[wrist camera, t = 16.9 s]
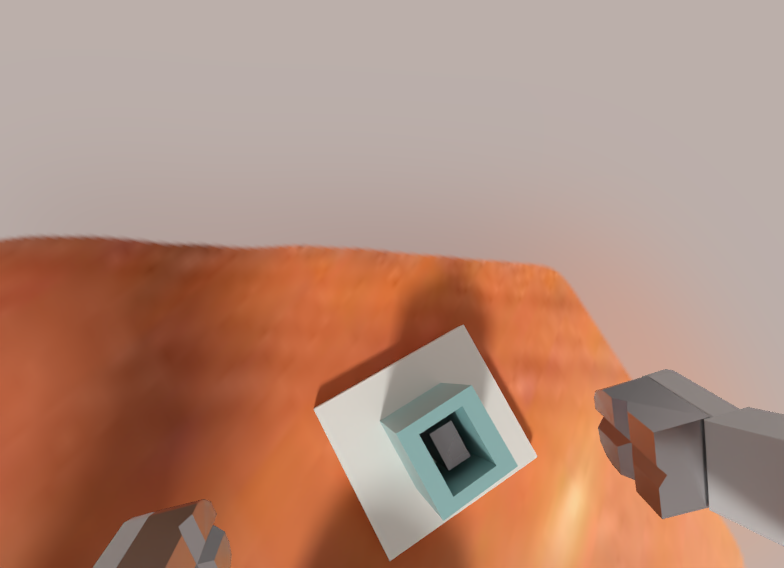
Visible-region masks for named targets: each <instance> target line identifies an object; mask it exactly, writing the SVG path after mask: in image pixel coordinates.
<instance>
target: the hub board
mask: <svg viewBox="0 0 784 568" xmlns="http://www.w3.org/2000/svg"><path fill="white" fill-rule="evenodd" d="M439 383H450V384H464V385H472V387H473V388H474V390H475V392H476V394H477V395H478V397H479V399H480V401H481V402H482V404H483V406H484V408H485V409H486V411H487V413H488V414H489V416H490V418H491V420H492V421H493V423H494V425H495V427H496V428H497V430H498V432H499V434H500V435H501V437H502V439H503V441H504V442H505V444H506V446H507V447H508V449H509V451H510V453H511V454H512V456H513V458H514V460H515V461H516V463H517V465H518V467H516V468H515V469H514V470H512V471H511V472H509V473H508V474H507V475H505V476H504V477H503V478H501V479H500V480H499V481H497V482H496V483H494V484H493V485H492V486H490V487H489V488H488V489H486V490H485V491H484V492H482V493H481V494H480V495H478V496H477V497H475V498H474V499H473V500H471V501H470V502H469V503H467V504H466V505H465V506H463V507H462V508H460V509H459V510H458V511H456V512H455V513H454V514H452V515H451V516H450V517H448V518H447V519H446V520H444V521H443V520H442V519H441V517H440V516H439V515H438V514H437V513H436V511H435V510H434V509H433V508H432V507H431V506H430V504H429V503H428V502H427V501H426V500H425V498H424V497H423V496H422V495H421V494H420V492H419V491H418V490H417V489H416V487H415V485H414V483H413V481H412V480H411V478H410V476H409V474H408V472H407V470H406V469H405V467H404V465H403V463H402V461H401V459H400V458H399V456H398V454H397V452H396V450H395V448H394V446H393V445H392V443H391V441H390V439H389V437H388V435H387V434H386V432H385V430H384V428H383V426H382V424H381V423H380V421H381V420H382V419H384V418H385V417H387V416H389V415H390V414H392V413H393V412H395V411H397V410H398V409H400V408H401V407H403V406H404V405H406V404H408V403H409V402H411V401H412V400H414V399H416V398H417V397H419V396H420V395H422V394H424V393H425V392H427V391H428V390H430V389H432V388H433V387H435V386H436V385H438V384H439ZM314 411H315V413H316V415H317V417H318V419H319V421H320V423H321V425H322V427H323V429H324V431H325V433H326V435H327V437H328V439H329V441H330V443H331V445H332V447H333V449H334V451H335V453H336V455H337V457H338V459H339V461H340V463H341V465H342V467H343V469H344V471H345V473H346V475H347V477H348V479H349V481H350V483H351V485H352V487H353V489H354V491H355V493H356V495H357V497H358V499H359V501H360V503H361V505H362V507H363V509H364V511H365V513H366V515H367V517H368V519H369V521H370V523H371V525H372V527H373V529H374V531H375V533H376V535H377V537H378V539H379V541H380V543H381V545H382V547H383V549H384V551H385V553H386V555H387V557H388V559H389V561H391V560H392V559H394V558H395V557H397V556H398V555H400V554H401V553H402V552H404V551H405V550H407V549H408V548H409V547H411V546H412V545H414V544H415V543H416V542H418V541H419V540H421V539H422V538H424V537H425V536H426V535H428V534H429V533H431V532H432V531H433V530H435V529H436V528H438V527H439V526H441V525H442V524H443V523H445V522H446V521H448V520H449V519H450V518H452V517H453V516H455V515H456V514H458V513H459V512H460V511H462V510H463V509H465V508H466V507H467V506H469V505H470V504H472V503H473V502H474V501H476V500H477V499H479V498H480V497H482V496H483V495H484V494H486V493H487V492H489V491H490V490H491V489H493V488H494V487H496V486H497V485H499V484H500V483H501V482H503V481H504V480H506V479H507V478H508V477H510V476H511V475H513V474H514V473H516V472H517V471H518V470H520V469H521V468H523V467H524V466H525V465H527V464H528V463H530V462H531V461H532V460H534V459H535V458H537V455H536V453H535V451H534V449H533V448H532V446H531V444H530V442H529V440H528V439H527V437H526V435H525V433H524V432H523V430H522V428H521V426H520V424H519V423H518V421H517V419H516V417H515V415H514V414H513V412H512V410H511V408H510V407H509V405H508V403H507V401H506V399H505V398H504V396H503V394H502V392H501V390H500V389H499V387H498V385H497V383H496V381H495V380H494V378H493V376H492V374H491V373H490V371H489V369H488V367H487V365H486V364H485V362H484V360H483V358H482V356H481V355H480V353H479V351H478V349H477V348H476V346H475V344H474V342H473V340H472V339H471V337H470V335H469V333H468V331H467V330H466V328H465V326H464V325H461V326H458V327H456V328H455V329H453V330H451V331H449V332H448V333H446V334H444V335H442V336H440V337H439V338H437V339H435V340H433V341H432V342H430V343H428V344H426V345H425V346H423V347H421V348H419V349H417V350H416V351H414V352H412V353H410V354H409V355H407V356H405V357H403V358H402V359H400V360H398V361H396V362H394V363H393V364H391V365H389V366H387V367H386V368H384V369H382V370H380V371H379V372H377V373H375V374H373V375H371V376H370V377H368V378H366V379H364V380H363V381H361V382H359V383H357V384H356V385H354V386H352V387H350V388H348V389H347V390H345V391H343V392H341V393H340V394H338V395H336V396H334V397H333V398H331V399H329V400H327V401H325V402H324V403H322V404H320V405H318V406H317V407H315V408H314ZM432 459H433V458H432ZM433 461H434V462H435V463H436V462H437V461H435V460H434V459H433Z"/></svg>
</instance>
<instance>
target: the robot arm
mask: <svg viewBox="0 0 784 568" xmlns="http://www.w3.org/2000/svg"><path fill="white" fill-rule="evenodd" d="M594 400H595V409H596V410H597V411H598V412H600V413H601V414H602V415H603V416H604V417H603V419H602V421H601V423H600V425H599V427H598V430H599V435H600V441H601V444H602V446H603V448H604V451H605V453H606V455H607V457H608V458H609V460H610V461H611V463H612V465H613V466H614V467H615V468H616V469H617V470H618V471H619V473H620V474H621V475H624V476H626V477H629V478H631V479H634V480H635V484H636V491H637V492H638V493H639V495H640V496H641V497H642V498H643V499H644V500H645V501H646V502H647V503H648V504H649V505H650V506H651V508H652V509H653V510H654V511H655V512H656V513H657V514H658V515H659V516H660V517H661V518H662V519H665V518H669V517H673V516H676V515H680V514H684V513H688V512H692V511H696V510H700V509H704V508H708V507H709V510H711V511H713V512H715V513H717V514H719V515H721V516H723V517H725V518H727V519H729V520H731V521H733V522H735V523H737V524H739V525H741V526H743V527H745V528H747V529H749V530H752V531H753V532H755V533H757V534H760V535H761V536H763V537H766V538H768V539H770V540H772V541H774V542H776V543H778V544H780V545H782V546H784V414H779V413H774V412H770V411H765V410H760V409H755V408H750V407H747V408H743V409H739V408H737V407H735V406H734V405H732V404H730V403H728V402H727V401H725V400H723V399H722V398H720V397H718V396H716V395H715V394H713V393H711V392H709V391H708V390H706V389H704V388H703V387H701V386H699V385H698V384H696V383H694V382H692V381H691V380H689V379H687V378H685V377H684V376H682V375H680V374H678V373H677V372H675V371H673V370H667V369H665V370H661V371H658V372H655V373H652V374H649V375H645V376H643V377H642V378H638V379H634V380H631V381H628V382H624V383H621V384H617V385H614V386H610V387H607V388H603V389H600V390H596V391H595V396H594ZM216 516H217V513H216V511H215V510H214V508H213V506H212V504H211V502H210V501H208V500H205V499H202V500H198V501H194V502H190V503H186V504H182V505H178V506H174V507H170V508H166V509H162V510H159V511H156V512H151V513H147V514H144V515H140V516H137V517H133V518H131V519H129V520H128V521H126V522H124V523H123V525H122V526H121V528H120V529H119V531H118V532H117V533H116V535H115V536H114V538H113V539H112V541H111V542H110V543H109V545H108V546H107V548H106V549H105V551H104V552H103V554H102V555H101V556H100V558H99V559H98V561H97V562H96V564H95V565H94V566H93V568H231V549H230V544H229V540H228V538H227V536H226V533H225V532H224V531H223V530H221V529H219V528H218V527H216V526H214V522H215V519H216Z"/></svg>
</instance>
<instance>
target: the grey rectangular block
mask: <svg viewBox="0 0 784 568" xmlns="http://www.w3.org/2000/svg"><path fill="white" fill-rule="evenodd" d="M419 435H420V437H421V439H422V441H423V443H424V444H425V446H426V448H427V450H428V452H429V453H430V455H431V457H432V458H433V459H434V460H435V461H437V462H438V463H439V464H441V465H442V466H443V467H445V468H446V469H447V470H451V469H452V468H454V467H455V466H457V465H458V464H460V463H461V462H463V461H464V460H466V459H467V458H469V457H470V454H469V452H468V450H467V449H466V447H465V445H464V443H463V441H462V439H461V437H460V436H459V434H458V432H457V430H456V428H455V426H454V424H453V423H452V421H451V420H449V419H446V418H443V419H442V420H440V421H439V422H437V423H436V424H434V425H433V426H431V427H430V428H428V429H427V430H425V431H424V432H422V433H421V434H419Z"/></svg>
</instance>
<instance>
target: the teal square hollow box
mask: <svg viewBox="0 0 784 568" xmlns="http://www.w3.org/2000/svg"><path fill="white" fill-rule="evenodd" d="M443 418H446V419H449V420H451V421H452V423H453V424H454V426H455V428H456V430H457V432H458V434H459V436H460V437H461V439H462V441H463V443H464V445H465V447H466V449H467V450H468V452H469V454H470V457H469V458H467V459H466V460H464V461H463V462H461V463H460V464H458V465H457V466H455V467H454V468H452V469H451V470H447V469H446V468H445V467H443V466H442V465H441V464H439V463H438V462H436V463H435V462H434V461H433V459H432V457H431V455H430V453H429V452H428V450H427V448H426V446H425V444H424V443H423V441H422V439H421V437H420V435H419V434H421V433H422V432H424V431H425V430H427V429H428V428H430V427H431V426H433V425H434V424H436V423H437V422H439V421H440V420H442V419H443ZM380 423H381V424H382V426H383V428H384V430H385V432H386V434H387V435H388V437H389V439H390V441H391V443H392V445H393V446H394V448H395V450H396V452H397V454H398V456H399V458H400V459H401V461H402V463H403V465H404V467H405V469H406V470H407V472H408V474H409V476H410V478H411V480H412V481H413V483H414V485H415V487H416V489H417V490H418V491H419V492H420V494H421V495H422V496H423V497H424V498H425V500H426V501H427V502H428V503H429V504H430V506H431V507H432V508H433V509H434V510H435V511H436V513H437V514H438V515H439V516H440V517H441V519H442V520H443V521H444V520H446V519H447V518H448V517H450V516H451V515H452V514H454V513H455V512H456V511H458V510H459V509H460V508H462V507H463V506H465V505H466V504H467V503H469V502H470V501H471V500H473V499H474V498H475V497H477V496H478V495H480V494H481V493H482V492H484V491H485V490H486V489H488V488H489V487H490V486H492V485H493V484H494V483H496V482H497V481H499V480H500V479H501V478H503V477H504V476H505V475H507V474H508V473H509V472H511V471H512V470H514V469H515V468H516V467H518V465H517V463H516V461H515V460H514V458H513V456H512V454H511V453H510V451H509V449H508V447H507V446H506V444H505V442H504V441H503V439H502V437H501V435H500V434H499V432H498V430H497V428H496V427H495V425H494V423H493V421H492V420H491V418H490V416H489V414H488V413H487V411H486V409H485V408H484V406H483V404H482V402H481V401H480V399H479V397H478V395H477V394H476V392H475V390H474V388H473V387H472V385H464V384H450V383H439V384H438V385H436V386H435V387H433V388H432V389H430V390H428V391H427V392H425V393H424V394H422V395H420V396H419V397H417V398H416V399H414V400H412V401H411V402H409V403H408V404H406V405H404V406H403V407H401V408H400V409H398V410H397V411H395V412H393V413H392V414H390V415H389V416H387V417H385V418H384V419H382V420H381V421H380Z"/></svg>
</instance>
